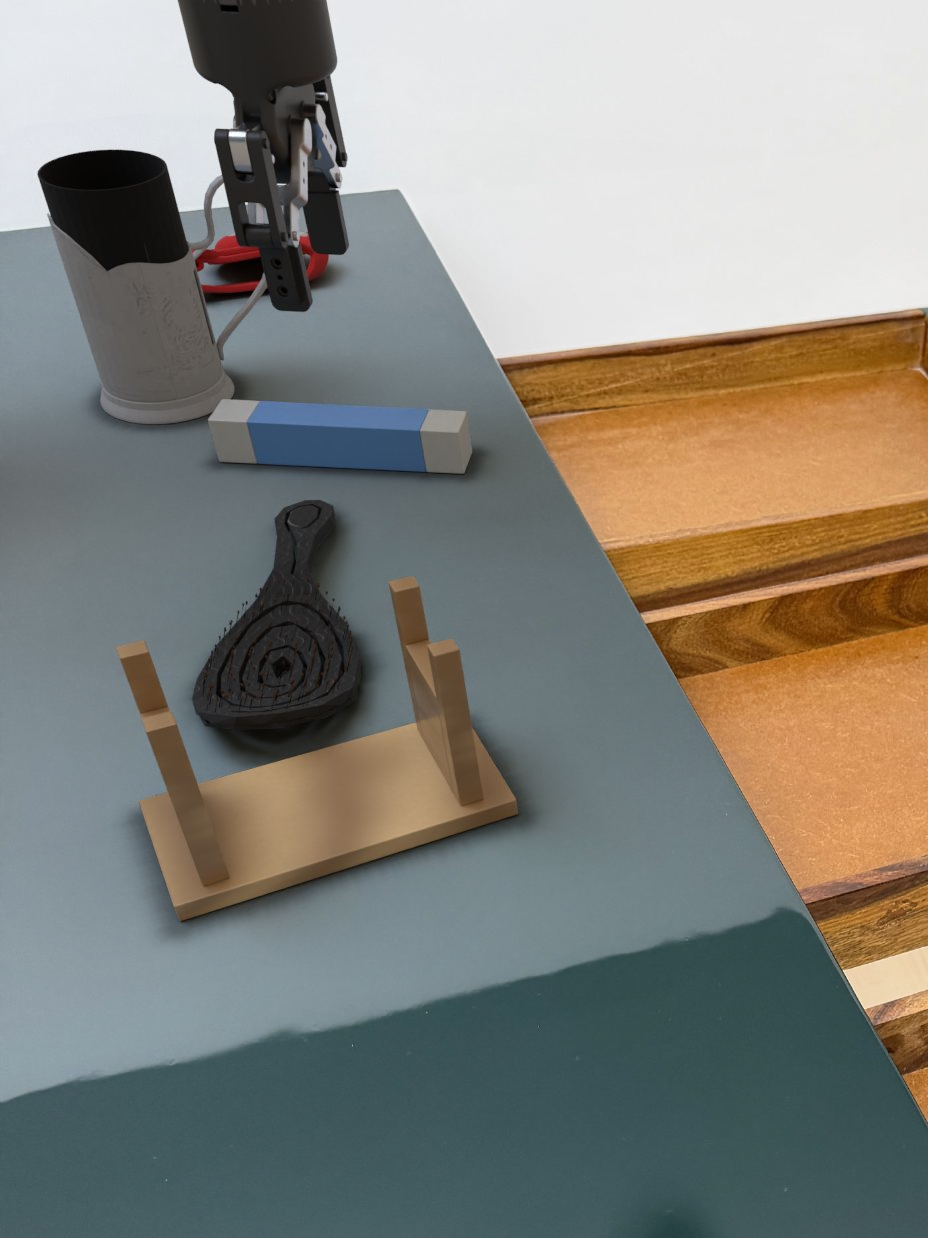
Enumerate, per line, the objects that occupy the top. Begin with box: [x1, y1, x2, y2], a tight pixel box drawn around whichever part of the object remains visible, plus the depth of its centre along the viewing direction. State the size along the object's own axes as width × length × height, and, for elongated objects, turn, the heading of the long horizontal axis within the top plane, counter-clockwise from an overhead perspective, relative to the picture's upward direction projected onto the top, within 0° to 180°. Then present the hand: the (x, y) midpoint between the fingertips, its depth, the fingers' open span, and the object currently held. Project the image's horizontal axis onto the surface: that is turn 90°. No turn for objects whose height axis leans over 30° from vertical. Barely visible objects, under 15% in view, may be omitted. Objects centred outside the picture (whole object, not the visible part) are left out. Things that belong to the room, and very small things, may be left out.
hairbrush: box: [191, 499, 364, 731], centre depth 79 cm, size 8×4×25 cm
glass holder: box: [37, 149, 267, 425], centre depth 95 cm, size 9×14×15 cm, turn 123°
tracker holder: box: [192, 230, 330, 294], centre depth 112 cm, size 12×4×10 cm
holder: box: [115, 575, 519, 922], centre depth 65 cm, size 16×8×10 cm, turn 120°
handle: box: [207, 398, 473, 475], centre depth 93 cm, size 16×3×3 cm, turn 90°
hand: (313, 279), depth 86 cm, fingers open, 8 cm apart
